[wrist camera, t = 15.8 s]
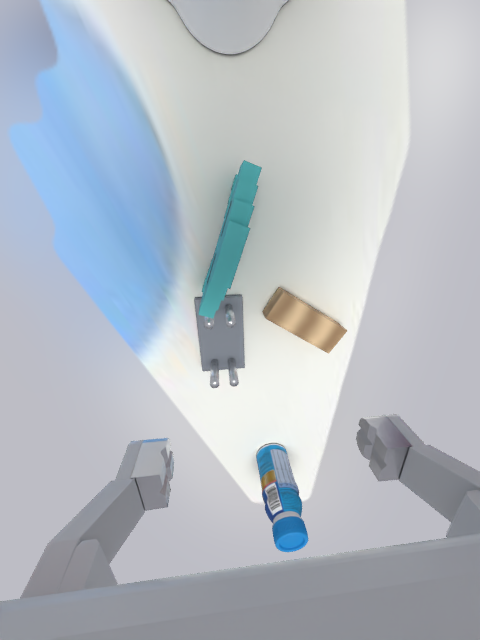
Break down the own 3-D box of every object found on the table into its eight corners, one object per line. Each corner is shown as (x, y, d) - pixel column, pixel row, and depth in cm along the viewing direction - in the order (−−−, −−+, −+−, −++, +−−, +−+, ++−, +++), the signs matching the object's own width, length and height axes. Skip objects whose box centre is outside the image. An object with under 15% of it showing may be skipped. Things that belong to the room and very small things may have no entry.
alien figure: (213, 292, 48) (213, 340, 30) (202, 288, 48) (195, 335, 30) (247, 181, 41) (274, 155, 23) (235, 176, 41) (251, 145, 23)
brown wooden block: (338, 322, 54) (347, 330, 50) (321, 344, 56) (328, 353, 52) (278, 286, 49) (283, 292, 46) (262, 310, 51) (265, 318, 48)
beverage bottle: (287, 440, 66) (315, 527, 48) (285, 462, 69) (311, 552, 51) (255, 443, 65) (271, 533, 47) (255, 465, 69) (270, 557, 50)
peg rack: (195, 297, 48) (191, 314, 40) (241, 294, 49) (246, 311, 41) (203, 367, 55) (200, 394, 46) (243, 363, 55) (248, 390, 47)
